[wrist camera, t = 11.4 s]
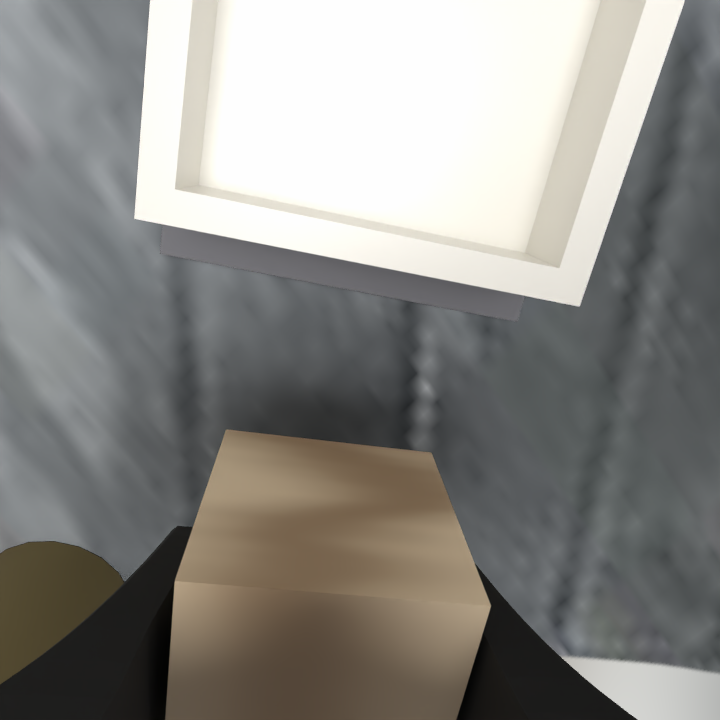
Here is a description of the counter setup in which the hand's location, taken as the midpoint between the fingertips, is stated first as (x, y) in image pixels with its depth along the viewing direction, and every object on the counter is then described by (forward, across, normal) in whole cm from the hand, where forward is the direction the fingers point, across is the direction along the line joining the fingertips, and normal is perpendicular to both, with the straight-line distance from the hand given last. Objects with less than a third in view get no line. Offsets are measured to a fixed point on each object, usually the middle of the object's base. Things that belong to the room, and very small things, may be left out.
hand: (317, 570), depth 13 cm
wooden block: (+2, 0, 0) cm, 2 cm away
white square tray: (+8, -1, -12) cm, 14 cm away
